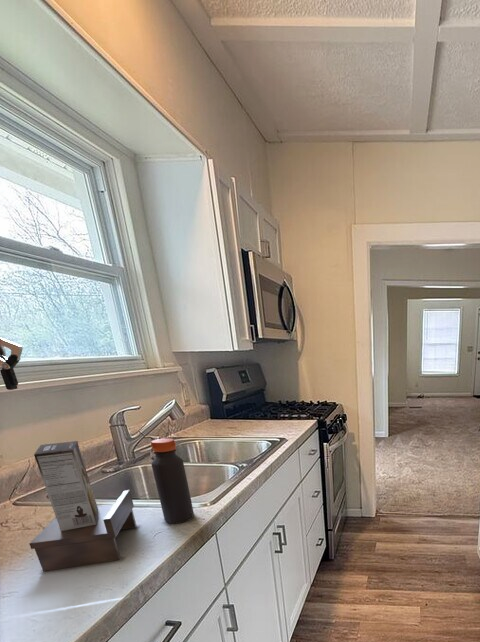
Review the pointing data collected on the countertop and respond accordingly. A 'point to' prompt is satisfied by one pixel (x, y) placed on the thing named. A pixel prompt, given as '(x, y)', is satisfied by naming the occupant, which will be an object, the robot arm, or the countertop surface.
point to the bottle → (171, 482)
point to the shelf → (85, 538)
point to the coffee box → (67, 484)
